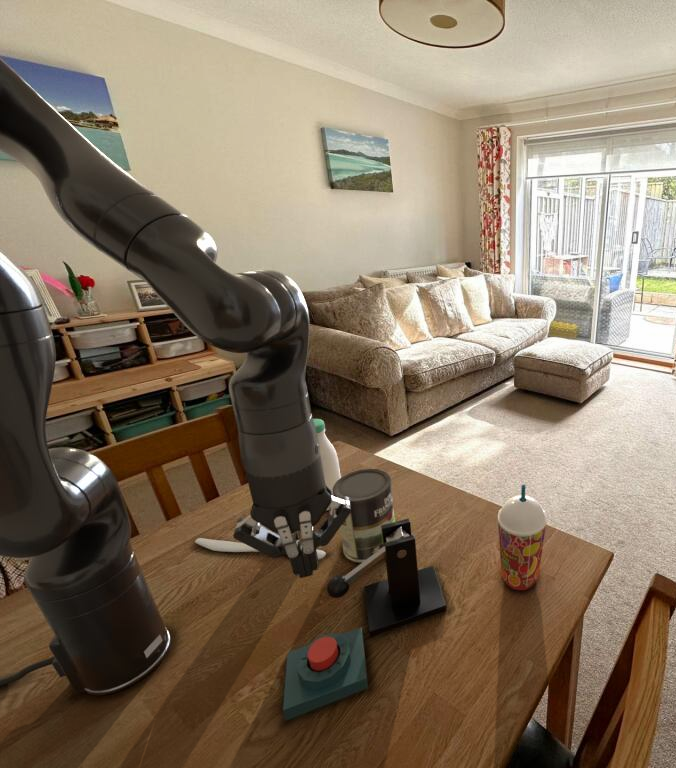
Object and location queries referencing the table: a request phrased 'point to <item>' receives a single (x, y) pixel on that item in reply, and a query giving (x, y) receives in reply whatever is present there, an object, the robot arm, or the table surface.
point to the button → (323, 653)
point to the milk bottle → (327, 457)
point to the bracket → (402, 586)
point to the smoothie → (521, 540)
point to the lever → (360, 568)
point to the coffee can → (365, 511)
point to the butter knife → (235, 546)
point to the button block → (324, 675)
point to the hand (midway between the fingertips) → (306, 571)
